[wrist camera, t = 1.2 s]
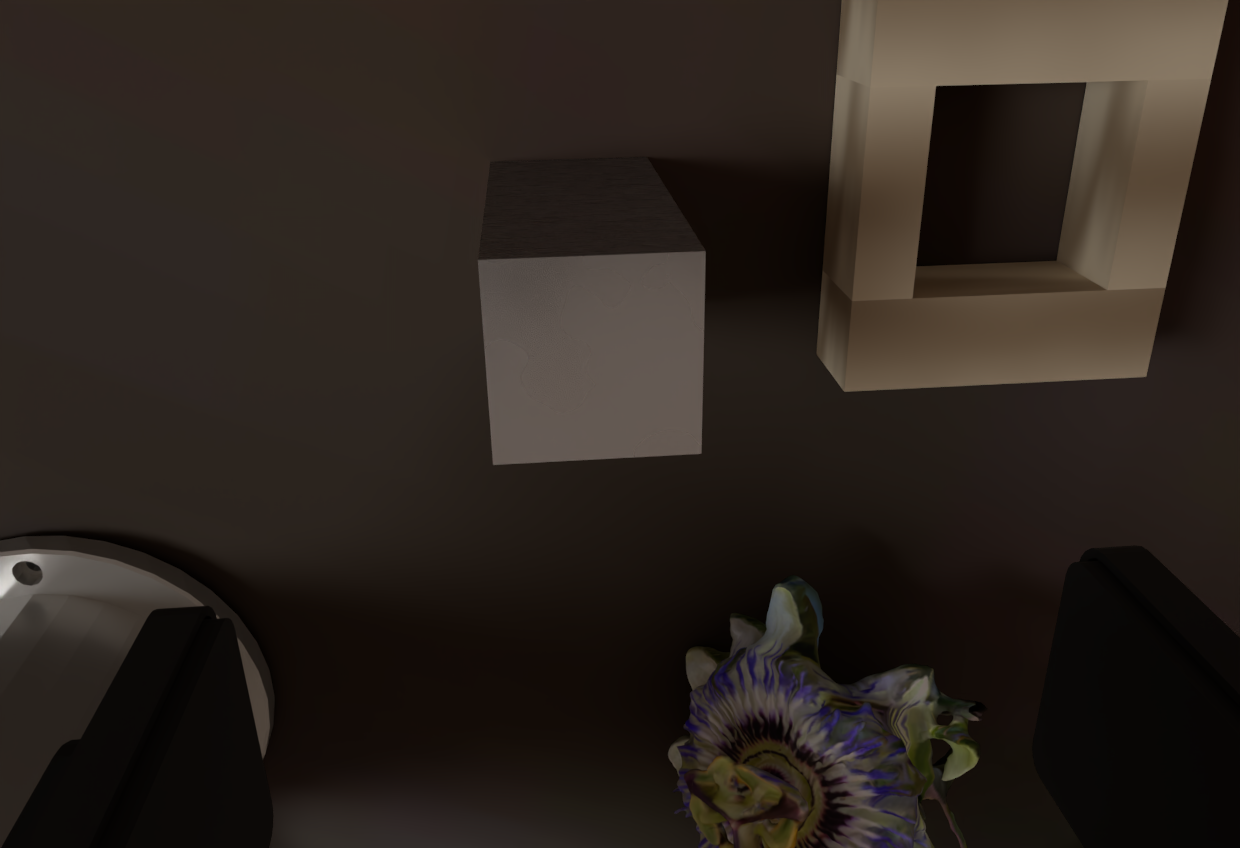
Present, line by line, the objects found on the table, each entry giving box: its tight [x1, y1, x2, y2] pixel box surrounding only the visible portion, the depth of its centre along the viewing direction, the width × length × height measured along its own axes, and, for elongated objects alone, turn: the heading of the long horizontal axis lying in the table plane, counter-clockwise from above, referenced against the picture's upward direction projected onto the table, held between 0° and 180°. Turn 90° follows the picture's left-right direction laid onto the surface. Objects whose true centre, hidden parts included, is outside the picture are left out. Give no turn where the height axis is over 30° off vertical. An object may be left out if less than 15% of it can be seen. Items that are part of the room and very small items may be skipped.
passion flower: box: [668, 575, 987, 848], centre depth 34 cm, size 11×11×12 cm
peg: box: [478, 157, 706, 465], centre depth 25 cm, size 4×4×10 cm
